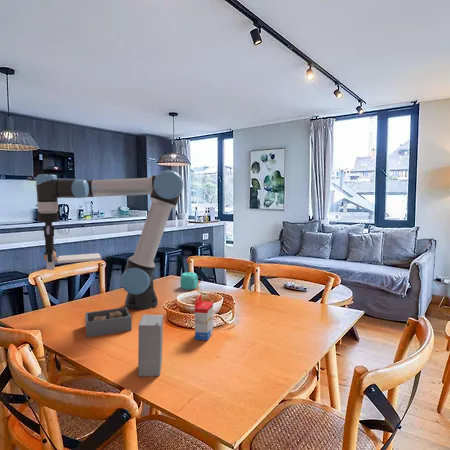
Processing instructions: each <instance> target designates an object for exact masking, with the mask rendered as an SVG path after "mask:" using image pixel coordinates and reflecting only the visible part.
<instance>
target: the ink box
mask: <svg viewBox="0 0 450 450" xmlns="http://www.w3.org/2000/svg"><path fill="white" fill-rule="evenodd" d="M213 305H214V302H213V301H205V300H204V301H203V300H202V294H199V296H198V297H196V298H195V299H194V339H195V341H196V340H197V341H208V340H209V339H210V337H211V335H212V334H213V332H214V318H213V317H214V311H213V309H214V306H213Z"/></svg>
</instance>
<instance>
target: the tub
mask: <svg viewBox="0 0 450 450" xmlns="http://www.w3.org/2000/svg"><path fill="white" fill-rule="evenodd" d="M116 311H120V312H121V313H122V317H119V318H112V319H109V313H111V312H116ZM84 315H85V316H84V318H85V319H84V320H85V333H86V338H91V337H92V338H93V337H99V336H106V335H111V334H117V333H124V332H130V331H132V330H133V327H132V325H133V323H132V315H131V312H130V311H129V309H128V308H127V307H125V306H124V307H117V308H108V309H103V310H95V311H88V312H85V313H84ZM96 316H106V319H105V320H99V321H93V320H94V318H95V317H96Z"/></svg>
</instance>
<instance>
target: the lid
mask: <svg viewBox="0 0 450 450" xmlns="http://www.w3.org/2000/svg"><path fill="white" fill-rule="evenodd" d="M53 254H54V260H55V262H56V263H57V264H68V263H70V264H71V263H80V262H83V263H84V262H91V261H92V262H94V261H95V262H96V261H102V256H101V254H100V253H99V252H97V253H96V252H95V253H94V252H93V253H81V254H64V255H58V257H57V252H56V251H53ZM43 259H44V261H45V262H46V255H44V254H43Z"/></svg>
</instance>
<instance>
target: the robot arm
mask: <svg viewBox="0 0 450 450" xmlns="http://www.w3.org/2000/svg"><path fill="white" fill-rule="evenodd" d="M35 180H36V181H35V182H36V184H35V187H36V204H35V207H36V208H37V212H38V213H37V220H38V223H40V224H42V223H44V226H43V227H42V228H43V229H42V231H43V237H44V243H45V251H44V252H43V256H44V255H46V261H45V262H46V271H54V270H55V268H56V266H55V265H56V264H55V260H54V254H53V251H55V252H56V251H57V250H56V249H55V246H54V245H55V241H54V236H55V225H53V223H58V222H59V213H58V212H59V200H58V199H62V198H64V199H82V198H83V199H84V198H85V199H86V198H94V197H95V198H99V197H118V196H119V197H122V196H126V197H127V196H144V195H149V199H150V200H151V204H150V207H149V210H148V212H147V216H146V218H145V222H144V225H143V227H142V230H141V233H140V236H139V239H138V242H137V245H136V249H135V251H134V255H132V256H130V257H128V258H127V262H126V265H125V267H124V268H125V269H124V271H123V273H122V274H121V277H120V283H121V287H122V289H123V290H124V291H125V292H127V293H126V297H125V301H124V307H127V309H128V310H133V311H134V310H135V311H139V310H141V311H142V310H149V309H153V308H156V307H157V306H158V304H159V301H158V300H159V299H158V297H157V295H156V292H155V289H154V271H155V268H156V264H155V262H154V261H155V257H156V255H157V252H158V249H159V247H160V243H161V240H162V238H163V234H164V232H165V228H166V225H167V223H168V220H169V217H170V214H171V211H172V209H174V208H175V207H177V205H178V202H179V199H180V195H181V194H182V192H183V188H184V181H183V178H182V176H181V175H180V174H179V173H178V172H177V171H174V170H171V169H166V170H162V171H160V172H159V173H158V174H157V175H150V177H142V178H141V177H139V178H116V179H115V178H111V179H93V180H91V179H90V180H89V179H88V180H86V179H79V178H78V179H77V178H76V179H59V178H58V177H57V175H56V174H49V173H48V174H46V173H44V174H43V173H42V174H38V175H36V179H35Z"/></svg>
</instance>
